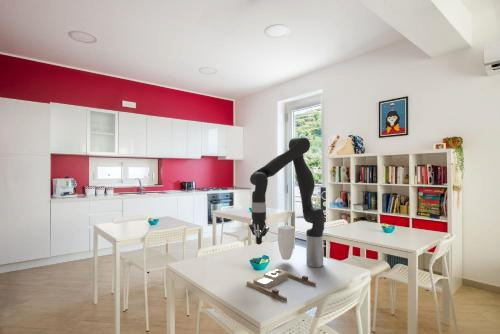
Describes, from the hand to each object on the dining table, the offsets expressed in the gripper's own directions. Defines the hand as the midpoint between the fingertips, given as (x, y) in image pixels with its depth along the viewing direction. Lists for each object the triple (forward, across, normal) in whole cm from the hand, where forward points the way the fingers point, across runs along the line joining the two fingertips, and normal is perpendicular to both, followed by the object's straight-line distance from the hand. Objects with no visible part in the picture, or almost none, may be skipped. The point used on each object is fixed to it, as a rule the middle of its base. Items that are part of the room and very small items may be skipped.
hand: (258, 244), depth 146 cm
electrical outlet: (+18, -9, +1) cm, 20 cm away
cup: (+17, +3, -26) cm, 31 cm away
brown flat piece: (+17, -15, 0) cm, 23 cm away
